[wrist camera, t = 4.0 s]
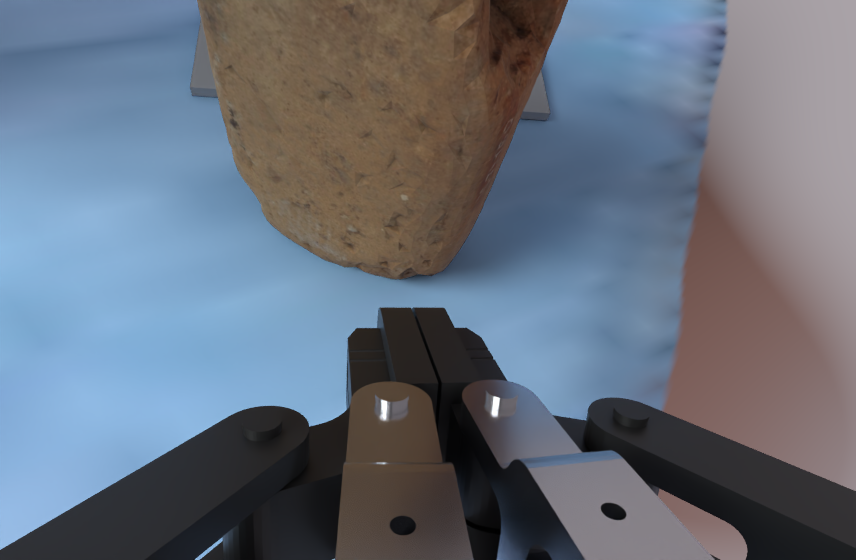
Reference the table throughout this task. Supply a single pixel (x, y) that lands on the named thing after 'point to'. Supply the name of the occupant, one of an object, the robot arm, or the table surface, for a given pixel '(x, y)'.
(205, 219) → the table surface
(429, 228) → the rough sandstone rock
